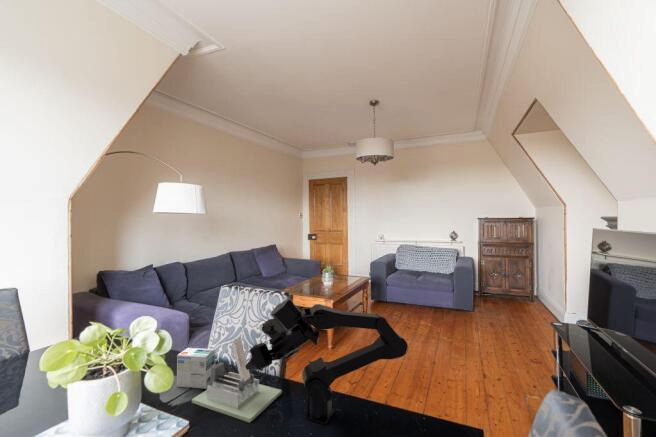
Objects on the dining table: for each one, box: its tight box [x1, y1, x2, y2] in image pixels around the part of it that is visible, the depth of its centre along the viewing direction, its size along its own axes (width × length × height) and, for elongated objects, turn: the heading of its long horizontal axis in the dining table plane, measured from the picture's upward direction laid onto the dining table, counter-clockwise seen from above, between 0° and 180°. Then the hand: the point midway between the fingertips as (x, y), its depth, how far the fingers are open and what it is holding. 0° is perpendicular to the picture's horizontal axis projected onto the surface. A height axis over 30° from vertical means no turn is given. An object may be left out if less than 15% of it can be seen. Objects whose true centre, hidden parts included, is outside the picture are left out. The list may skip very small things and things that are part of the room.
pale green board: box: [191, 383, 283, 423], centre depth 94 cm, size 22×16×1 cm
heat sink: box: [206, 361, 260, 409], centre depth 94 cm, size 13×10×8 cm
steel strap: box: [231, 337, 252, 387], centre depth 92 cm, size 14×3×2 cm
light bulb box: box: [176, 347, 216, 390], centre depth 102 cm, size 11×7×11 cm, turn 84°
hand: (256, 363), depth 90 cm, fingers open, 9 cm apart
